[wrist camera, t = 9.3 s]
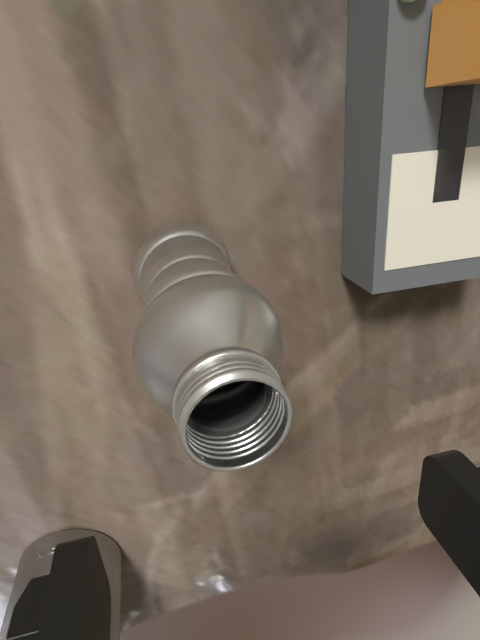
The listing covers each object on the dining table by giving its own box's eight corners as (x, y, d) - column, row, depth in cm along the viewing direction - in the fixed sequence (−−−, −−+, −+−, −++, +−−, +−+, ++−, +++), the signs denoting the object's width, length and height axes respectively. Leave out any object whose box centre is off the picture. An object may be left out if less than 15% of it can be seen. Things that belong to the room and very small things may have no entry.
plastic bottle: (240, 259, 32) (373, 411, 14) (176, 318, 33) (227, 534, 15) (181, 194, 29) (253, 283, 11) (113, 261, 30) (81, 442, 12)
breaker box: (448, 258, 36) (501, 278, 31) (341, 274, 35) (377, 298, 29) (488, -32, 28) (567, -71, 23) (349, -30, 26) (402, -71, 21)
